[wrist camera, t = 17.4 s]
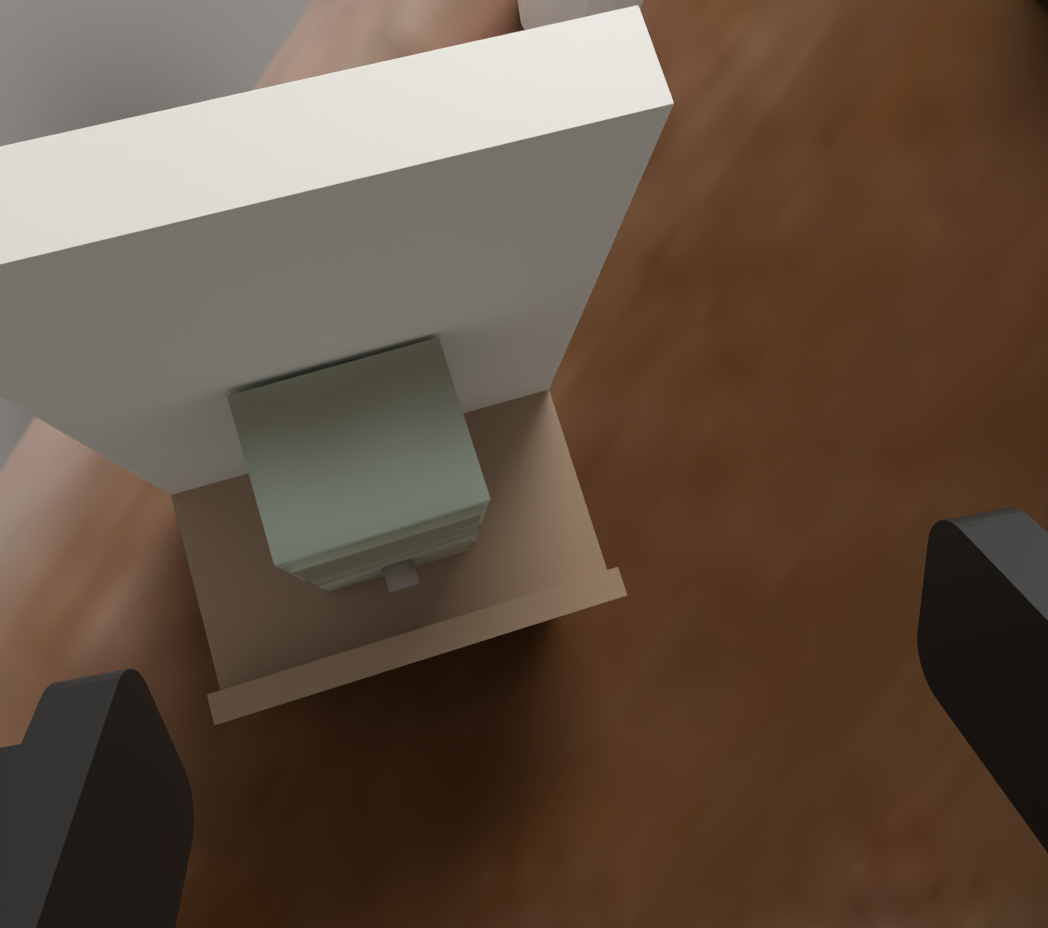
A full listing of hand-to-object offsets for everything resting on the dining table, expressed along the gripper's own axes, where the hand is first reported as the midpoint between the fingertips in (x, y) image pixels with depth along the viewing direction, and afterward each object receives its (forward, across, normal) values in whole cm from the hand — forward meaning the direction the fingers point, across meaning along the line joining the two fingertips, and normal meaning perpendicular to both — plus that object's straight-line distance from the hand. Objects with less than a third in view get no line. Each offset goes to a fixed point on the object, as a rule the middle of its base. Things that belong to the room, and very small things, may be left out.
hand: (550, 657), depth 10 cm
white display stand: (+27, +4, +16) cm, 32 cm away
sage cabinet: (+22, +4, +11) cm, 25 cm away
